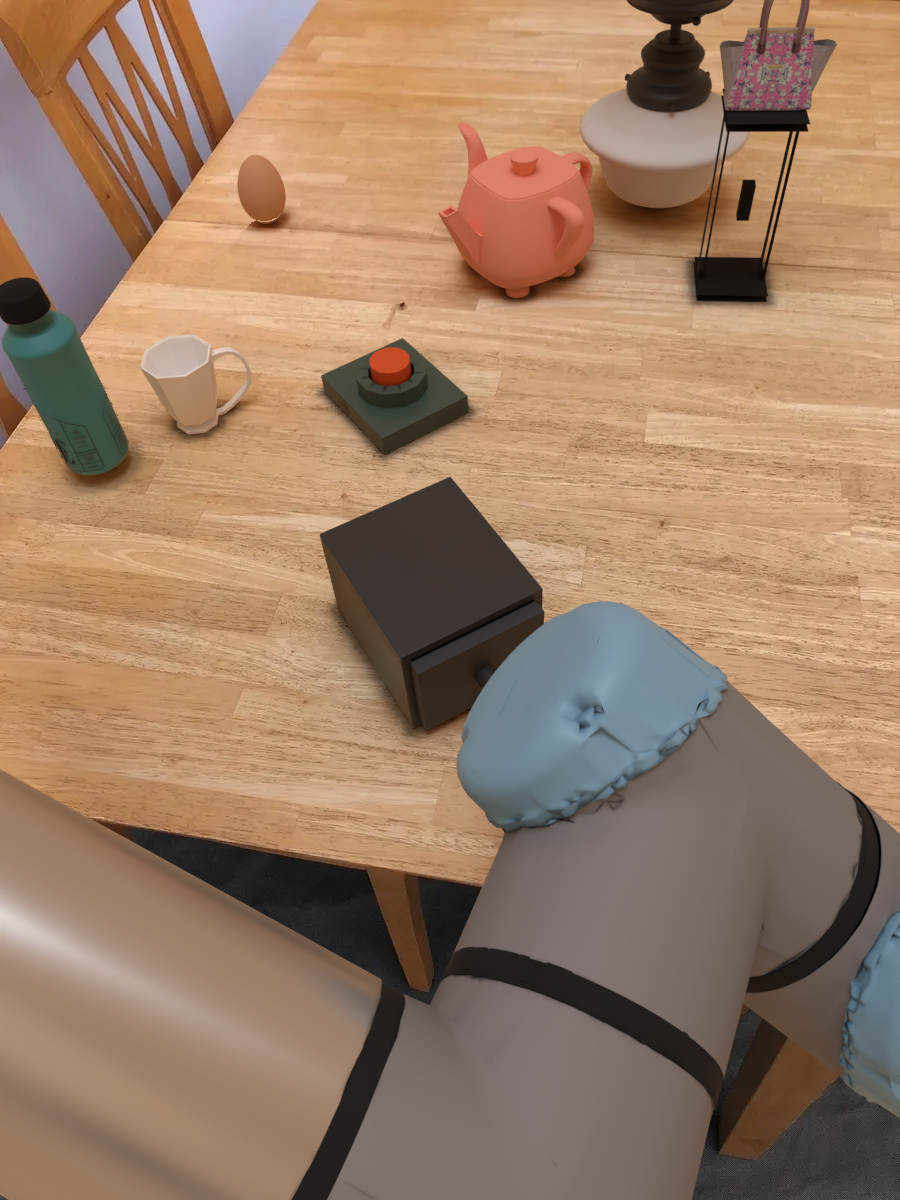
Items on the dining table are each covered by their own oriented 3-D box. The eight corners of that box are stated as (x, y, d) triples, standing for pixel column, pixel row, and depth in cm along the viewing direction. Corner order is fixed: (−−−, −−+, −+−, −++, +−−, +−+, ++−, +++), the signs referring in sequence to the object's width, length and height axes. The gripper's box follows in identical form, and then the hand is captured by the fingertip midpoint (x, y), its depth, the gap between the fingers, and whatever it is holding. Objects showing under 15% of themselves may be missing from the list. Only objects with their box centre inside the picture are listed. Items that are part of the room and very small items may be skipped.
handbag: (683, 300, 102) (733, -6, 79) (681, 262, 107) (727, -38, 83) (781, 302, 101) (862, -9, 78) (774, 263, 106) (848, -41, 82)
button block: (324, 392, 96) (317, 360, 93) (404, 354, 99) (401, 323, 96) (384, 455, 90) (379, 423, 87) (468, 412, 93) (467, 381, 90)
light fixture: (767, 220, 111) (821, -21, 91) (622, 262, 108) (646, 20, 88) (682, 150, 123) (714, -78, 103) (549, 185, 119) (556, -44, 99)
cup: (156, 411, 96) (131, 346, 89) (248, 381, 98) (229, 315, 92) (174, 452, 92) (148, 387, 85) (269, 419, 94) (251, 354, 88)
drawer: (551, 682, 72) (554, 622, 65) (433, 743, 69) (425, 687, 63) (463, 567, 79) (458, 504, 73) (354, 618, 77) (340, 557, 70)
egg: (294, 209, 119) (281, 144, 113) (285, 233, 116) (271, 168, 109) (251, 209, 120) (236, 145, 113) (241, 233, 116) (224, 168, 110)
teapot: (443, 305, 104) (435, 190, 94) (463, 225, 115) (457, 113, 104) (587, 310, 102) (595, 193, 92) (594, 228, 112) (602, 114, 102)
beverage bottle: (149, 452, 92) (73, 272, 76) (108, 496, 88) (19, 318, 73) (97, 436, 94) (12, 258, 78) (55, 479, 90) (-43, 301, 75)
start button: (364, 372, 92) (361, 357, 91) (397, 356, 93) (395, 342, 92) (385, 392, 90) (382, 378, 89) (419, 376, 91) (417, 361, 90)
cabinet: (540, 663, 74) (543, 588, 66) (412, 729, 71) (400, 658, 63) (456, 554, 81) (450, 475, 74) (338, 609, 78) (319, 533, 71)
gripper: (608, 1015, 39) (441, 850, 62) (841, 863, 43) (603, 759, 65) (542, 863, 38) (397, 751, 60) (788, 719, 41) (564, 664, 64)
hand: (504, 755), depth 63 cm, fingers closed
